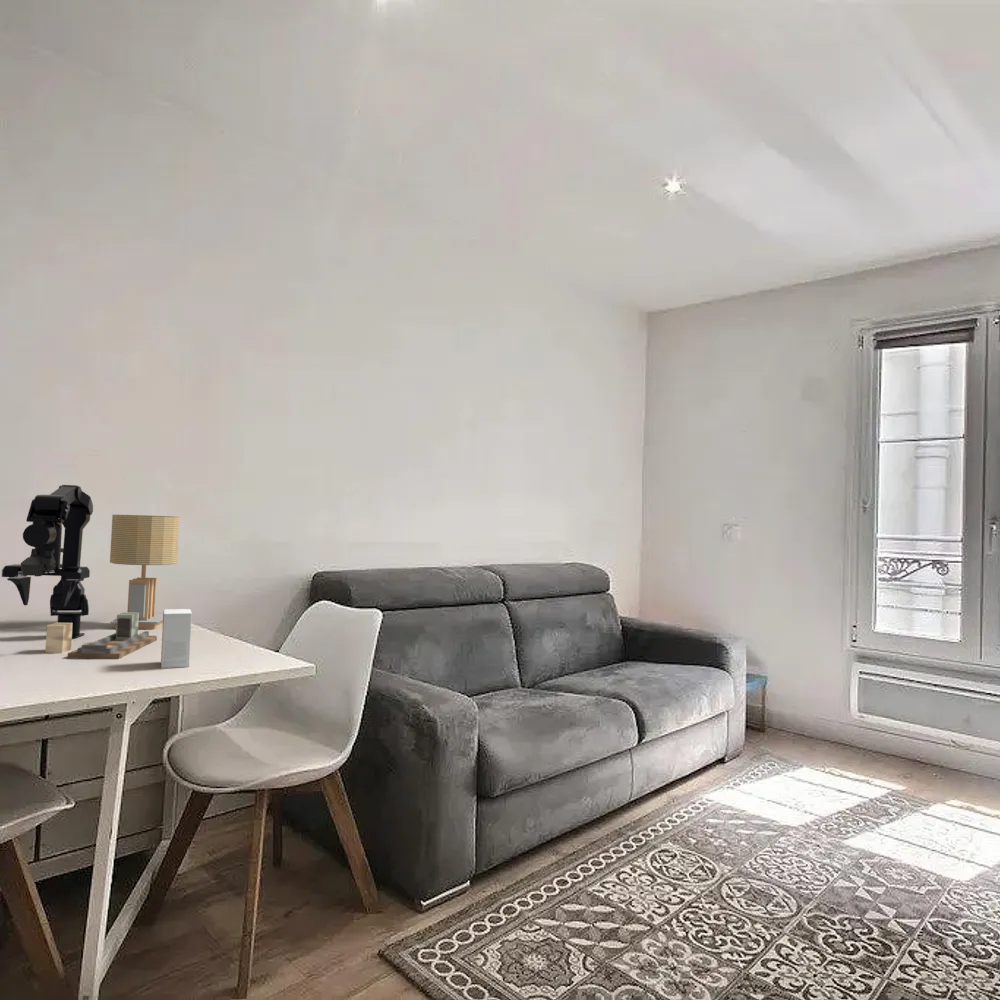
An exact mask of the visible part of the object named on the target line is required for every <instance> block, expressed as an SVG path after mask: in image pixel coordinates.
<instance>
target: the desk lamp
mask: <svg viewBox="0 0 1000 1000" xmlns="http://www.w3.org/2000/svg"><path fill="white" fill-rule="evenodd" d="M111 515H112V516H111V518H112V519H111V535H110V538H111V539H110V553H109V563H110V564H114V565H124V566H125V565H126V566H128V565H129V566H141V574H140V575H141V576H140V577H136V578H132V579H129V580H128V593H127V594H128V598H127V611H126V612H134V613H139V621H138V630H156V629H157V628H158V627H160V626H163V614H156V598H157V582H158V578H157V577H147V576H146V575H147V566H165V565H169V566H170V565H176V564H178V547H179V530H180V529H179V528H180V516H170V515H169V516H168V515H166V516H165V515H143V514H142V515H141V514H139V515H137V514H111ZM110 624H115V625H114V629H115V630H116V625H117V618H115V619H113V620H111V621H110Z"/></svg>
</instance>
